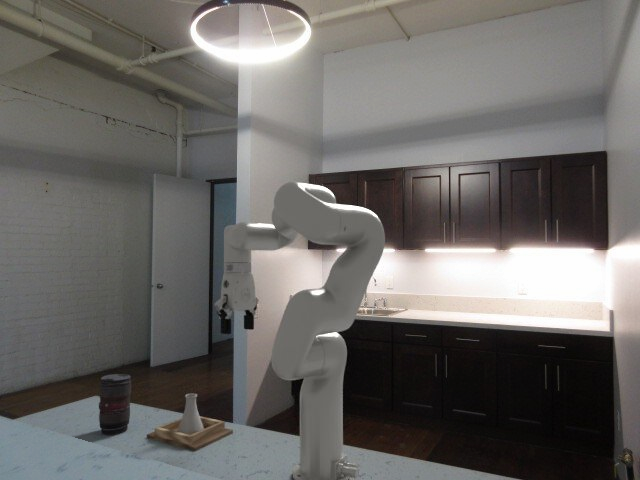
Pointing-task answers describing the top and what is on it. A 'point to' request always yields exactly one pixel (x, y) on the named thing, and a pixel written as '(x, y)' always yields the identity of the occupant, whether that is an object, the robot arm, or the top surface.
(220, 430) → the shaker holder
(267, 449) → the top surface
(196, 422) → the flask
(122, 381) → the camera lens
